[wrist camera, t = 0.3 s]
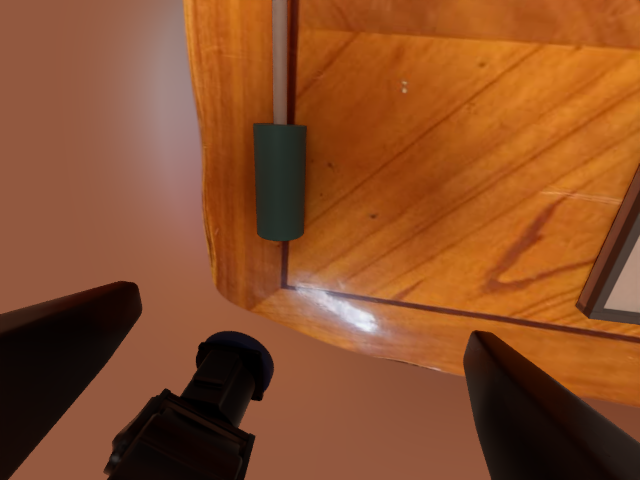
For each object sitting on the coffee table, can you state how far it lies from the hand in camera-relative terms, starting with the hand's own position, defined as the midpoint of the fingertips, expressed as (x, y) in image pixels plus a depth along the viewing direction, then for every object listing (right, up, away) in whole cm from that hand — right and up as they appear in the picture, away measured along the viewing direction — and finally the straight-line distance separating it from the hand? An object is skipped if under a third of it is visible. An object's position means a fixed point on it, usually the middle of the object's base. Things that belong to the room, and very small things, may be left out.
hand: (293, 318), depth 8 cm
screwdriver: (-1, +10, +12) cm, 15 cm away
